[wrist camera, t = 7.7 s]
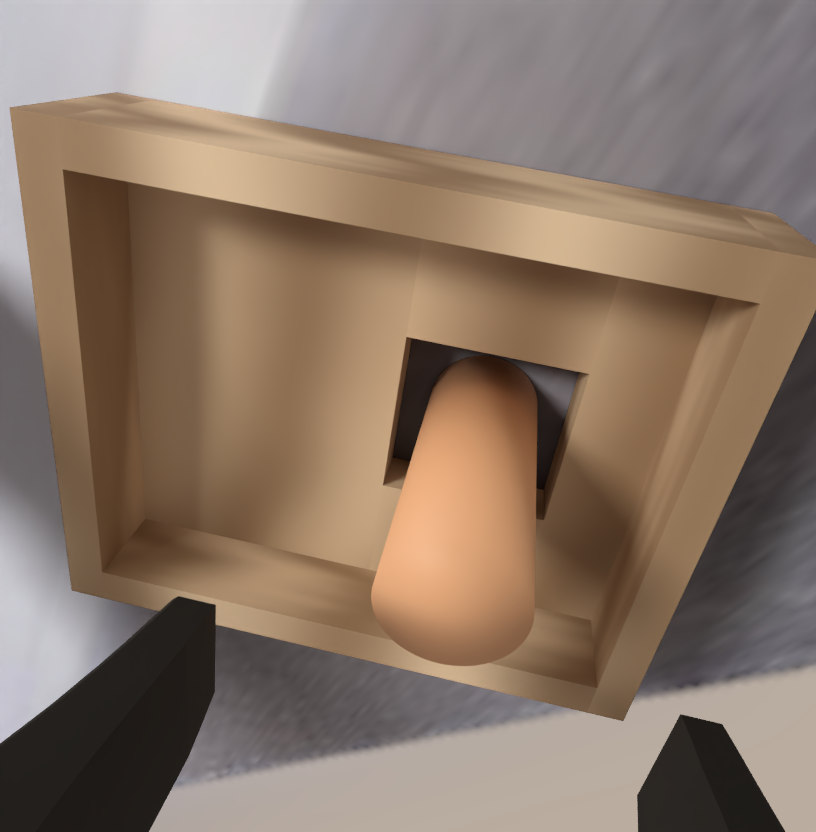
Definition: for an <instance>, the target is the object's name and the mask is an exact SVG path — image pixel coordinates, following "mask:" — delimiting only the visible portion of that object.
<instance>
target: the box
mask: <svg viewBox="0 0 816 832" xmlns="http://www.w3.org/2000/svg"><path fill="white" fill-rule="evenodd" d="M10 114H11V122H12V130H13V137H14V145H15V153H16V161H17V169H18V176H19V184H20V192H21V200H22V207H23V215H24V223H25V231H26V238H27V246H28V254H29V262H30V269H31V277H32V285H33V293H34V300H35V308H36V316H37V324H38V331H39V339H40V347H41V355H42V362H43V370H44V378H45V386H46V393H47V401H48V409H49V417H50V424H51V432H52V440H53V448H54V455H55V463H56V471H57V479H58V486H59V494H60V502H61V510H62V517H63V525H64V533H65V541H66V548H67V556H68V564H69V572H70V579H71V587H72V591H76V592H80V593H85V594H89V595H93V596H97V597H102V598H106V599H110V600H114V601H119V602H123V603H127V604H131V605H135V606H140V607H144V608H148V609H152V610H157V611H160V610H161V609H162V608H163V607H165V606H166V605H167V604H168V603H169V602H170V601H171V600H172V599H174V598H176V597H178V596H180V597H185V598H189V599H193V600H197V601H202V602H206V603H210V604H214V605H216V625H220V626H224V627H228V628H233V629H237V630H241V631H245V632H249V633H254V634H258V635H262V636H266V637H271V638H275V639H279V640H283V641H287V642H292V643H296V644H300V645H304V646H309V647H313V648H317V649H321V650H325V651H330V652H334V653H338V654H342V655H347V656H351V657H355V658H359V659H363V660H368V661H372V662H376V663H380V664H385V665H389V666H393V667H397V668H401V669H406V670H410V671H414V672H418V673H423V674H427V675H431V676H435V677H439V678H444V679H448V680H452V681H456V682H461V683H465V684H469V685H473V686H477V687H482V688H486V689H490V690H494V691H499V692H503V693H507V694H511V695H515V696H520V697H524V698H528V699H532V700H537V701H541V702H545V703H549V704H553V705H558V706H562V707H566V708H570V709H575V710H579V711H583V712H587V713H591V714H596V715H600V716H604V717H609V718H613V719H617V720H621V721H623V720H624V718H625V716H626V714H627V712H628V710H629V708H630V706H631V703H632V701H633V699H634V697H635V695H636V693H637V691H638V688H639V686H640V684H641V682H642V680H643V678H644V676H645V674H646V671H647V669H648V667H649V665H650V663H651V661H652V659H653V656H654V654H655V652H656V650H657V648H658V646H659V644H660V642H661V639H662V637H663V635H664V633H665V631H666V629H667V627H668V624H669V622H670V620H671V618H672V616H673V614H674V612H675V610H676V607H677V605H678V603H679V601H680V599H681V597H682V595H683V592H684V590H685V588H686V586H687V584H688V582H689V580H690V578H691V575H692V573H693V571H694V569H695V567H696V565H697V563H698V560H699V558H700V556H701V554H702V552H703V550H704V548H705V546H706V543H707V541H708V539H709V537H710V535H711V533H712V531H713V528H714V526H715V524H716V522H717V520H718V518H719V516H720V514H721V511H722V509H723V507H724V505H725V503H726V501H727V499H728V496H729V494H730V492H731V490H732V488H733V486H734V484H735V482H736V479H737V477H738V475H739V473H740V471H741V469H742V467H743V464H744V462H745V460H746V458H747V456H748V454H749V452H750V450H751V447H752V445H753V443H754V441H755V439H756V437H757V435H758V432H759V430H760V428H761V426H762V424H763V422H764V420H765V418H766V415H767V413H768V411H769V409H770V407H771V405H772V403H773V400H774V398H775V396H776V394H777V392H778V390H779V388H780V385H781V383H782V381H783V379H784V377H785V375H786V373H787V371H788V368H789V366H790V364H791V362H792V360H793V358H794V356H795V353H796V351H797V349H798V347H799V345H800V343H801V341H802V339H803V336H804V334H805V332H806V330H807V328H808V326H809V324H810V321H811V319H812V317H813V315H814V313H815V311H816V246H815V245H814V244H813V243H812V242H810V241H809V240H808V239H806V238H805V237H804V236H802V235H801V234H800V233H799V232H797V231H796V230H795V229H793V228H792V227H791V226H789V225H788V224H787V223H785V222H784V221H783V220H782V219H780V218H779V217H778V216H776V215H775V214H774V213H769V212H764V211H758V210H753V209H747V208H742V207H737V206H731V205H726V204H720V203H715V202H709V201H704V200H698V199H693V198H688V197H682V196H677V195H671V194H666V193H660V192H655V191H649V190H644V189H639V188H633V187H628V186H622V185H617V184H611V183H606V182H601V181H595V180H590V179H584V178H579V177H573V176H568V175H562V174H557V173H552V172H546V171H541V170H535V169H530V168H524V167H519V166H513V165H508V164H503V163H497V162H492V161H486V160H481V159H475V158H470V157H464V156H459V155H454V154H448V153H443V152H437V151H432V150H426V149H421V148H415V147H410V146H405V145H399V144H394V143H388V142H383V141H377V140H372V139H366V138H361V137H356V136H350V135H345V134H339V133H334V132H328V131H323V130H318V129H312V128H307V127H301V126H296V125H290V124H285V123H279V122H274V121H269V120H263V119H258V118H252V117H247V116H241V115H236V114H230V113H225V112H220V111H214V110H209V109H203V108H198V107H192V106H187V105H181V104H176V103H171V102H165V101H160V100H154V99H149V98H143V97H138V96H132V95H127V94H122V93H109V94H102V95H95V96H88V97H81V98H74V99H67V100H59V101H52V102H45V103H38V104H31V105H24V106H17V107H10ZM412 338H414V339H419V340H424V341H429V342H434V343H439V344H444V345H449V346H454V347H459V348H464V349H469V350H473V351H478V352H483V353H488V354H493V355H498V356H503V357H508V358H513V359H518V360H523V361H528V362H533V363H538V364H542V365H547V366H552V367H557V368H562V369H567V370H572V371H577V372H579V375H578V378H577V381H576V385H575V388H574V391H573V395H572V398H571V401H570V404H569V408H568V411H567V414H566V418H565V421H564V424H563V428H562V431H561V434H560V438H559V441H558V444H557V448H556V451H555V454H554V457H553V461H552V464H551V467H550V471H549V474H548V477H547V481H546V484H545V487H544V490H541V489H537V488H536V548H535V614H534V622H533V626H532V629H531V631H530V633H529V635H528V637H527V638H526V639H525V641H524V642H523V643H522V644H521V645H520V646H519V647H518V648H517V649H516V650H515V651H513V652H512V653H511V654H509V655H507V656H505V657H503V658H501V659H499V660H496V661H494V662H490V663H486V664H482V665H475V666H452V665H444V664H440V663H435V662H432V661H429V660H426V659H423V658H421V657H418V656H416V655H414V654H412V653H410V652H408V651H407V650H405V649H404V648H402V647H401V646H399V645H398V644H397V643H396V642H394V641H393V640H392V639H391V638H390V637H389V636H388V635H387V634H386V633H385V631H384V630H383V629H382V627H381V626H380V624H379V622H378V621H377V619H376V617H375V614H374V611H373V607H372V603H371V592H372V586H373V582H374V579H375V576H376V573H377V569H378V566H379V563H380V559H381V556H382V553H383V550H384V546H385V543H386V540H387V537H388V533H389V530H390V527H391V523H392V520H393V517H394V514H395V510H396V507H397V504H398V501H399V497H400V494H401V491H402V487H403V484H404V481H405V478H406V474H407V471H408V468H409V465H410V461H407V460H402V459H398V458H393V451H394V445H395V439H396V433H397V426H398V420H399V414H400V408H401V402H402V396H403V390H404V383H405V377H406V371H407V365H408V359H409V353H410V347H411V340H412Z"/></svg>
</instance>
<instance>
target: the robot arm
mask: <svg viewBox="0 0 816 832" xmlns="http://www.w3.org/2000/svg"><path fill="white" fill-rule="evenodd" d="M215 626H216V605H214V604H210V603H206V602H202V601H197V600H193V599H189V598H185V597H180V596H178V597H176V598H174V599H172V600H171V601H170V602H169V603H168V604H167V605H166V606H165V607H163V608H162V609H161V610H160V611H159V612H158V613H157V614H156V615H155V616H154V617H153V618H152V619H150V620H149V621H148V622H147V623H146V624H145V625H144V626H143V627H142V628H141V629H139V630H138V631H137V632H136V633H135V634H134V635H133V636H132V637H131V638H129V639H128V640H127V641H126V642H125V643H124V644H123V645H122V646H120V647H119V648H118V649H117V650H116V651H115V652H114V653H112V654H111V655H110V656H109V657H108V658H107V659H105V660H104V661H103V662H102V663H101V664H100V665H98V666H97V667H96V668H95V669H94V670H92V671H91V672H90V673H89V674H88V675H86V676H85V677H84V678H83V679H82V680H80V681H79V682H78V683H77V684H76V685H74V686H73V687H72V688H71V689H70V690H68V691H67V692H66V693H65V694H64V695H62V696H61V697H60V698H59V699H58V700H56V701H55V702H54V703H53V704H51V705H50V706H49V707H48V708H46V709H45V710H44V711H42V712H41V713H40V714H38V715H37V716H36V717H35V718H33V719H32V720H31V721H29V722H28V723H27V724H25V725H24V726H23V727H21V728H20V729H19V730H17V731H16V732H15V733H14V734H12V735H11V736H10V737H8V738H7V739H6V740H4V741H3V742H2V743H0V832H149V830H150V828H151V826H152V825H153V822H154V821H155V819H156V817H157V815H158V813H159V811H160V810H161V808H162V806H163V804H164V802H165V800H166V798H167V796H168V794H169V793H170V791H171V789H172V787H173V785H174V783H175V781H176V779H177V777H178V776H179V774H180V772H181V770H182V768H183V766H184V764H185V762H186V760H187V758H188V756H189V754H190V752H191V749H192V747H193V744H194V742H195V739H196V737H197V735H198V732H199V730H200V727H201V725H202V722H203V720H204V717H205V715H206V712H207V710H208V707H209V705H210V702H211V700H212V697H213V695H214V692H215ZM637 799H638V800H637V801H638V832H785V830H784V829H783V827H782V825H781V824H780V822H779V821H778V819H777V817H776V815H775V814H774V812H773V810H772V809H771V807H770V805H769V803H768V802H767V800H766V798H765V797H764V795H763V793H762V792H761V790H760V788H759V786H758V785H757V783H756V781H755V780H754V778H753V776H752V774H751V773H750V771H749V769H748V767H747V766H746V764H745V762H744V760H743V759H742V757H741V755H740V754H739V752H738V750H737V748H736V747H735V745H734V743H733V742H732V740H731V738H730V737H729V735H728V733H727V731H726V730H725V728H724V727H723V725H722V724H718V723H714V722H710V721H706V720H702V719H698V718H693V717H689V716H685V715H680V716H679V718H678V720H677V722H676V724H675V726H674V728H673V730H672V731H671V733H670V735H669V737H668V739H667V741H666V743H665V745H664V746H663V749H662V750H661V752H660V754H659V756H658V758H657V760H656V761H655V763H654V765H653V767H652V769H651V771H650V773H649V775H648V777H647V779H646V780H645V782H644V784H643V786H642V788H641V790H640V792H639V794H638V795H637Z"/></svg>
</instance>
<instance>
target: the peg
mask: <svg viewBox="0 0 816 832" xmlns="http://www.w3.org/2000/svg"><path fill="white" fill-rule="evenodd" d="M536 477H537V396H536V392H535V389H534V387H533V385H532V383H531V381H530V380H529V378H528V377H527V376H526V374H525V373H524V372H523V371H522V370H520V369H519V368H518V367H517V366H515V365H513V364H512V363H510V362H508V361H506V360H503V359H500V358H497V357H492V356H473V357H468V358H464V359H461V360H459V361H457V362H455V363H453V364H452V365H450V366H449V367H447V368H446V369H445V370H444V371H443V372H442V373H441V374H440V375H439V377H438V378H437V380H436V382H435V384H434V386H433V389H432V392H431V396H430V399H429V402H428V406H427V409H426V412H425V415H424V419H423V422H422V425H421V429H420V432H419V435H418V438H417V442H416V445H415V448H414V451H413V455H412V458H411V461H410V465H409V468H408V471H407V474H406V478H405V481H404V484H403V487H402V491H401V494H400V497H399V501H398V504H397V507H396V510H395V514H394V517H393V520H392V523H391V527H390V530H389V533H388V537H387V540H386V543H385V546H384V550H383V553H382V556H381V559H380V563H379V566H378V569H377V573H376V576H375V579H374V582H373V586H372V592H371V603H372V607H373V611H374V614H375V617H376V619H377V621H378V622H379V624H380V626H381V627H382V629H383V630H384V631H385V633H386V634H387V635H388V636H389V637H390V638H391V639H392V640H393V641H394V642H396V643H397V644H398V645H399V646H401V647H402V648H404V649H405V650H407V651H408V652H410V653H412V654H414V655H416V656H418V657H421V658H423V659H426V660H429V661H432V662H435V663H440V664H444V665H452V666H475V665H482V664H486V663H490V662H494V661H496V660H499V659H501V658H503V657H505V656H507V655H509V654H511V653H512V652H513V651H515V650H516V649H517V648H518V647H519V646H520V645H521V644H522V643H523V642H524V641H525V639H526V638H527V637H528V635H529V633H530V631H531V629H532V626H533V622H534V614H535V548H536Z"/></svg>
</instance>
